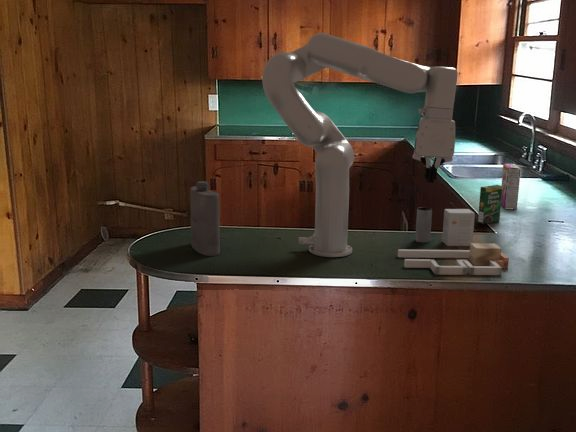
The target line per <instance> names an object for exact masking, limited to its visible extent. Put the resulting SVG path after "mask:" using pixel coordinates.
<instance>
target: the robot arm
mask: <svg viewBox="0 0 576 432" xmlns="http://www.w3.org/2000/svg"><path fill="white" fill-rule="evenodd" d="M324 69H330V70H333V71H336V72H339V73H342V74H345V75H348V76H351V77H354V78H358V79H361V80H364V81H370V82H372V83H375V84H379V85H381V86H385V87H387V88H391V89H393V90H397V91H399V92H402V93H406V94H416V93H425V99H424V100H425V101H424V105H423V107H422V108H418V112H417V113H418V115H422V117H420V120H419V122H418V125H417V126H418V127H417V130H416V134H415V140H414V145H413V154H412V159H414V160H417V161H420V162H421V163H422V164H423V166H424V174H423V178H424V179H425V182H426V183H431V184H434V183H435V180H437V173H438V169H439V168H440V166H442V165H443V164H445V163H451V162H452V161H453V159H454V158H453V157H454V154H455V146H456V145H455V144H456V121H455V120H453V114H454V113H453V112H454V106H455V100H456V90H457V83H458V76H459V75H458V70H457V69H456V68H455V67H450V66H449V67H448V66H427V65H421V64H417V63H413V62H410V61H406V60H403V59H399V58H397V57H394V56H391V55H388V54H385V53H382V52H379V51H378V50H376V49H375V48H373V47H370V46H367V45H364V44H360V43H357V42H353V41H352V40H348V39H344V38H341V37H338V36H335V35H332V34H328V33H325V32H319V33H316V34H314V35H312V36H311V37H310V39H309V40H308V42H307V43H306V44H305V45H303V46H302V47H301V46H300V48H297V49H295V50H293V51H291V52H287V51H282V52H277V53H275V54H273V55H272V56H271V57H270V58H269V59H268V60H267V61H266V64H265V66H264V68H263V71H262V77H261V78H262V80H261V83H262V88H263V92H264V94H265V96H266V98H267V100H268V102H269V103H270V105H271V106H272V107H273V109H274V110H275V111H276V112H277V114H278V115H279V117H280V118H281V120H282V121H283V122H284V124H285V125H286V126H287V127H288V128H289V130H290V131H291V132H292V133H293V135H294V137H295V138H296V139H297V141H298V142H299V143H300V144H301V145H302V146H303V145H304V146H306V147H312V148H313V150H314V151H315V152H316V157H315V160H314V177H315V207H314V208H315V211H314V214H315V215H314V233H313V234H312V236H309V237H305V236H303V237H301V236H300V237H298V244H299V245H300V244H301V245H303V246H308V251H309V252H310V253H311V254H312V255H314V256H319V257H324V258H339V257H340V258H342V257H347V256H350V255H351V254H352V253H353V247H352V246H351V245H350V244H348V232H349V228H348V227H349V206H350V205H349V203H350V168H351V167H352V166H353V164H354V162H355V151H354V148H353V146H352V145H351V143H350V142H349V141H348V139H347V138H346V137H345V136H344V135H343V133H342V132H341V131H340V130H339V128H338V127H337V126H336V124H335V123H334V122H333V120H332V119H331V118H330V117H329V116H328V115H327V114H326V113H323V112H321V111H319V110H315V109H314V108H313V107H312V106H311V104H309V102H308V101H307V99H306V98H305V97H304V96H303V94H302V93H301V92H300V91H299V90H298V88H297V87H296V86H295V84H294V83H297V82H300V81H303V80H305V79H306V78H308V77H310V76H312V75H314V74H317V73H319V72H321V71H322V70H323V71H324ZM431 158H433V161H432V162H431ZM431 163H432V164H431Z"/></svg>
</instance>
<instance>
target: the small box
mask: <svg viewBox="0 0 576 432" xmlns="http://www.w3.org/2000/svg"><path fill="white" fill-rule="evenodd" d="M475 217H476V214H475V212H473V211H472V210H471V209H469V208H445V209H444V211H443V223H442V224H443V225H442V238H441V240H442V243H444V245H445V246H447V247H470V244H471V243H474V241H473V240H474V231H475V230H474V228H475Z"/></svg>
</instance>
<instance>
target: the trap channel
mask: <svg viewBox="0 0 576 432" xmlns="http://www.w3.org/2000/svg"><path fill="white" fill-rule="evenodd" d="M469 255H470V249H467V250H465V249H405V248H404V249H402V248H401V249H400V248H399V249H397V257H398V258H404V262H403V268H406V269H407V268H413V269H414V268H415V269H417V268H418V269H419V268H420V269H421V268H422V269H424V268H426V269H427V268H428V269H430V270H431V271H432V272H433V274H434V275H442V276H443V275H445V276H446V275H449V276H451V275H452V276H453V275H457V276H458V275H460V276H463V275H464V276H466V275H469V276H502V272H503V270H502V269H509V260H510V258H509V257H508V256H507V255H506V254H505V253H503V252H502V251H501V259H500V260H489V262H488V265H473V264H472V263H471V262H470V260H469ZM420 258H421V259H420ZM424 258H425V259H424ZM432 258H433V259H432ZM436 258H437V259H455V262H454V263H455V264H454V265H439V263H437V261H436V260H435V259H436Z"/></svg>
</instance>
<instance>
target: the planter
mask: <svg viewBox="0 0 576 432" xmlns="http://www.w3.org/2000/svg"><path fill="white" fill-rule="evenodd" d="M432 215H433V209H432V208H431V207H427V206H421V207H417V209H416V222H415V223H416V224H415V234H414V235H415V239H414V240H415V242H418V243H429V242H430V241H431V232H432V229H431V228H432V220H433V219H432V217H433V216H432Z"/></svg>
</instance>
